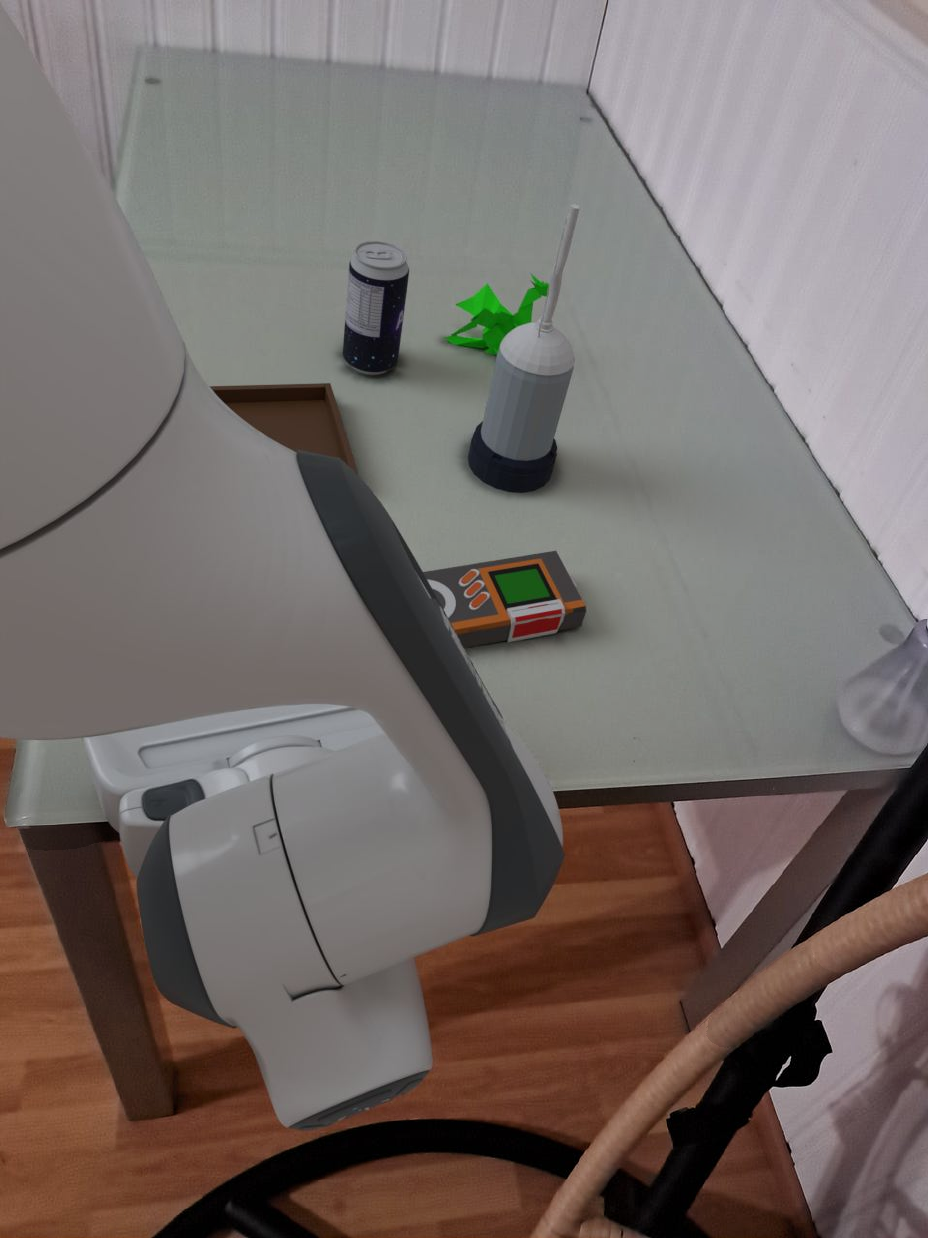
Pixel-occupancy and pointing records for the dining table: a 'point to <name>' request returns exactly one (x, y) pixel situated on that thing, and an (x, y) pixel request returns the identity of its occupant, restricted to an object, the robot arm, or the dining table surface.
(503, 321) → the figurine
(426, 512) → the dining table surface
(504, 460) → the humidifier
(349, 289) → the beverage can
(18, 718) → the robot arm
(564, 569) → the electronic device
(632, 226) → the dining table surface
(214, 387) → the tray
